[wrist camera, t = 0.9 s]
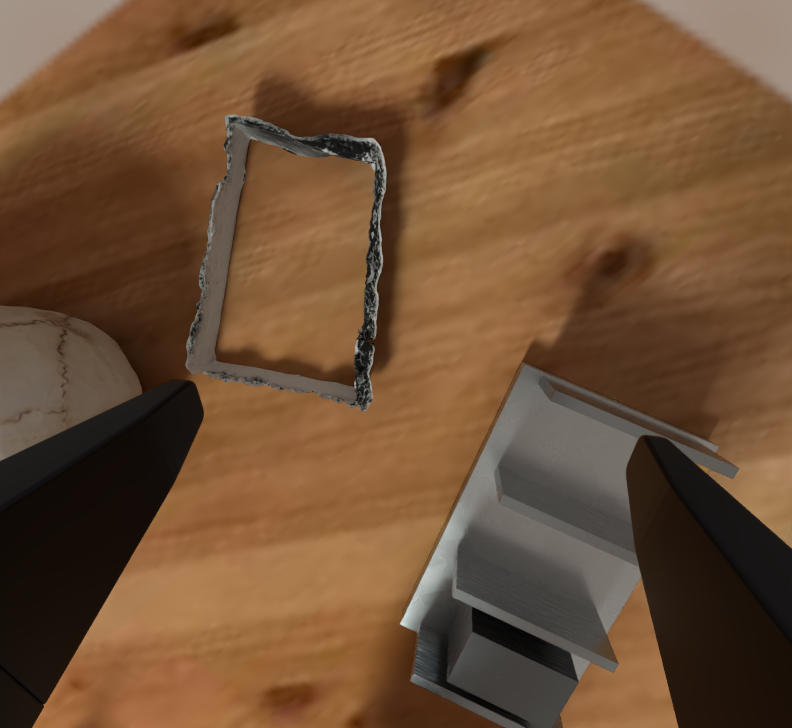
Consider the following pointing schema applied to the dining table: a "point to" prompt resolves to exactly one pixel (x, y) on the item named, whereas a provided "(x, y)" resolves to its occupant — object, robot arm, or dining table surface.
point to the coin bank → (55, 375)
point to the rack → (536, 553)
